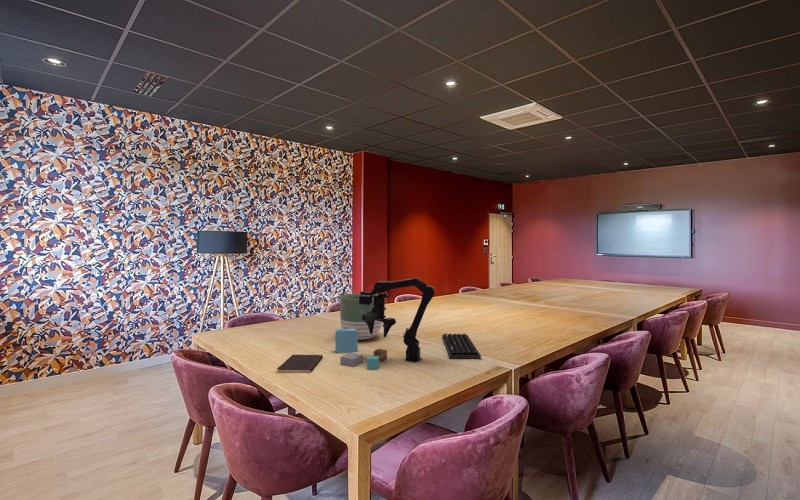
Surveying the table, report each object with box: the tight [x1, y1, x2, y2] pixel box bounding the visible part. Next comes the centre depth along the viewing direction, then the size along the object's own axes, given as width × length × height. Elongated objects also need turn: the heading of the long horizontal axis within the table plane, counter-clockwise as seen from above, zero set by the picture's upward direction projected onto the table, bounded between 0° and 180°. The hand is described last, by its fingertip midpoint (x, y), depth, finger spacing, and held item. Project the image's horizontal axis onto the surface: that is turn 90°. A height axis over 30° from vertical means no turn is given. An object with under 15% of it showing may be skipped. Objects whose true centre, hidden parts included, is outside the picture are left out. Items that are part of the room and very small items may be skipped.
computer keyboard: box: [441, 333, 482, 360], centre depth 220 cm, size 45×16×4 cm, turn 179°
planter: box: [339, 292, 383, 341], centre depth 242 cm, size 27×27×27 cm
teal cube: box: [366, 355, 380, 370], centre depth 185 cm, size 5×5×5 cm
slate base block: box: [339, 352, 364, 368], centre depth 192 cm, size 8×8×4 cm
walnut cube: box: [373, 348, 388, 363], centre depth 197 cm, size 5×5×5 cm
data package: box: [334, 328, 359, 354], centre depth 214 cm, size 12×4×12 cm, turn 100°
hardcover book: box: [276, 354, 324, 374], centre depth 190 cm, size 16×23×2 cm
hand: (377, 335), depth 199 cm, fingers open, 9 cm apart
